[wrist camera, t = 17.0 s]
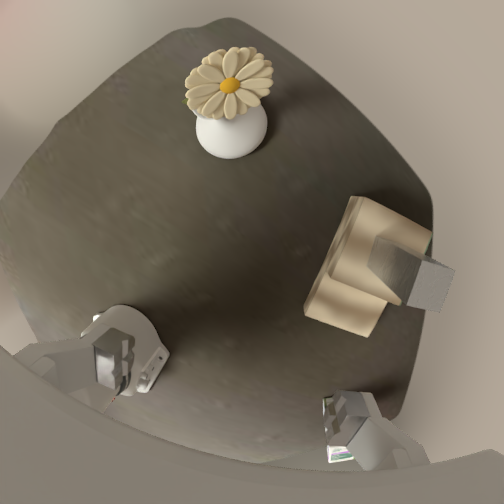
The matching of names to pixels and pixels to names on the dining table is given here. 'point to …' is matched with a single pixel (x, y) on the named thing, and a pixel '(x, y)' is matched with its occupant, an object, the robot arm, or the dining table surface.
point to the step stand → (359, 267)
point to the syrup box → (335, 451)
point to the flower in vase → (230, 101)
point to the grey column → (410, 274)
